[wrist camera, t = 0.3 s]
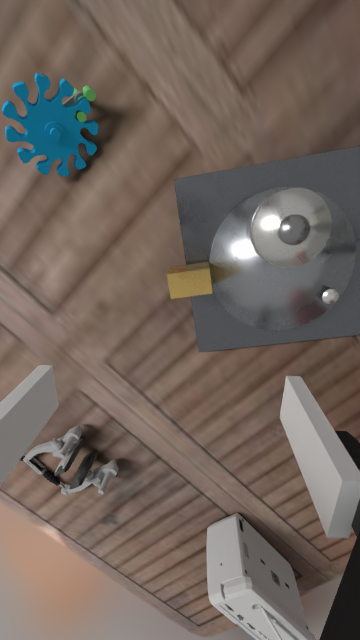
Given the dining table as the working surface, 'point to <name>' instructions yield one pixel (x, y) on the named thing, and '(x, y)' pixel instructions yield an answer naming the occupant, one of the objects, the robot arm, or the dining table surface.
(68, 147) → the blue virus model
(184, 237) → the turntable base
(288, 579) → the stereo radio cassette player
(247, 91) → the dining table surface
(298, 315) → the turntable
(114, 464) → the bike brake
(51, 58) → the dining table surface
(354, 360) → the dining table surface
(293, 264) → the cover
